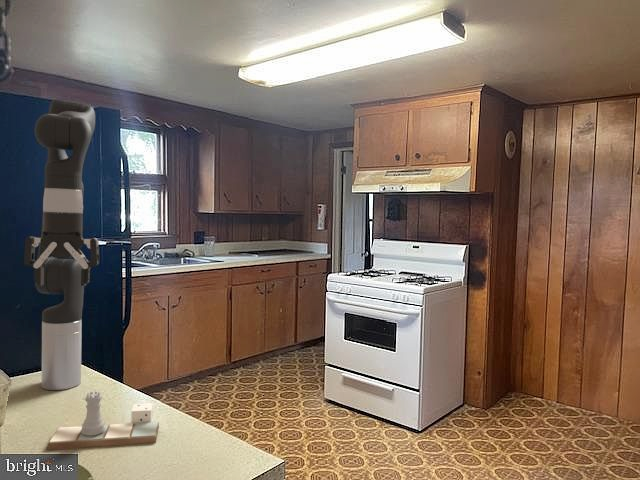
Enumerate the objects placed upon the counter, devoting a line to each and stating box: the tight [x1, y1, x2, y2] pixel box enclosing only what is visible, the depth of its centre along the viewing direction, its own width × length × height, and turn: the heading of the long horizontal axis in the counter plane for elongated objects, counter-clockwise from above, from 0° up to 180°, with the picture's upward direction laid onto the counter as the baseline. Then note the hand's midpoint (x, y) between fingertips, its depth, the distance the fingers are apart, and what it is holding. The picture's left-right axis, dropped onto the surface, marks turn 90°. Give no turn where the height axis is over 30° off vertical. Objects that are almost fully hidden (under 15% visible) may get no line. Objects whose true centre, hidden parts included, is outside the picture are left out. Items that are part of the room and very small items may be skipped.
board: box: [47, 421, 160, 450], centre depth 101 cm, size 7×20×1 cm, turn 103°
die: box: [130, 402, 154, 424], centre depth 108 cm, size 4×4×4 cm
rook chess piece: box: [81, 391, 106, 436], centre depth 100 cm, size 4×4×8 cm
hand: (62, 285), depth 106 cm, fingers open, 8 cm apart
